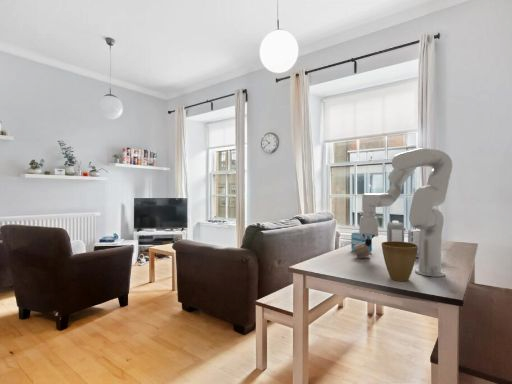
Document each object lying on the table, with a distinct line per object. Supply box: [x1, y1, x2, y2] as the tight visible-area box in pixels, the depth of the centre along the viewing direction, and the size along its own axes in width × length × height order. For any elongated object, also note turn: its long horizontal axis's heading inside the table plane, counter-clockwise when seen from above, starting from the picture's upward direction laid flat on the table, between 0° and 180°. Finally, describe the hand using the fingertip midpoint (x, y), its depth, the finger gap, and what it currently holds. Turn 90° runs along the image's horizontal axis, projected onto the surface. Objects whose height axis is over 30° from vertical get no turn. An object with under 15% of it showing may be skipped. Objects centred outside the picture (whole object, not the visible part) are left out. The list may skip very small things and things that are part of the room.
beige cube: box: [353, 242, 371, 259], centre depth 176 cm, size 7×7×7 cm
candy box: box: [407, 229, 420, 260], centre depth 176 cm, size 14×6×16 cm, turn 84°
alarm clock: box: [386, 220, 405, 242], centre depth 192 cm, size 18×8×20 cm, turn 161°
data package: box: [350, 231, 373, 253], centre depth 193 cm, size 12×4×12 cm, turn 40°
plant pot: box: [381, 241, 418, 282], centre depth 135 cm, size 15×15×16 cm
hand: (368, 245), depth 174 cm, fingers closed
